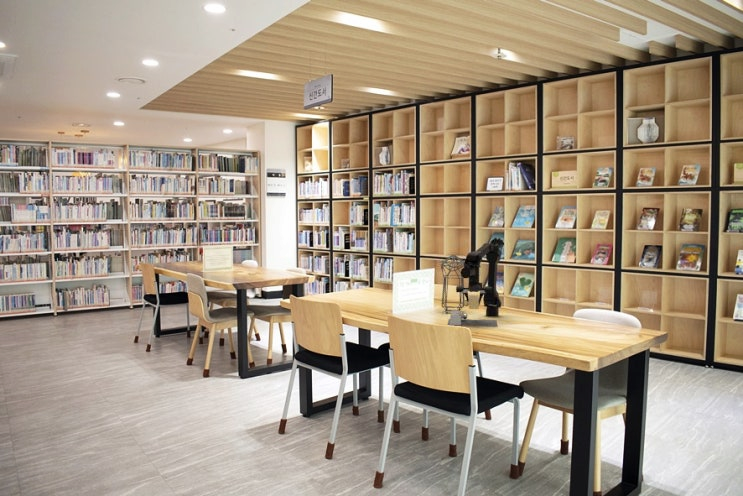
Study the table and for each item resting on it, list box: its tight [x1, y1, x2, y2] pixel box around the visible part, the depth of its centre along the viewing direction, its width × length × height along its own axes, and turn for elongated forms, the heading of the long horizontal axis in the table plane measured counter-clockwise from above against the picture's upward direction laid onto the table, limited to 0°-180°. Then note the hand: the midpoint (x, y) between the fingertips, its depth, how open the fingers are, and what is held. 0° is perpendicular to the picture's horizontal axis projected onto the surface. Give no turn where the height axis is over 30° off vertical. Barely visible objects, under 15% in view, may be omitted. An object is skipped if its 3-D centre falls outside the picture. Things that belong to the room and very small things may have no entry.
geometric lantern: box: [440, 254, 466, 314], centre depth 348 cm, size 16×16×35 cm
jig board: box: [447, 318, 499, 328], centre depth 313 cm, size 18×26×1 cm
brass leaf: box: [464, 294, 480, 310], centre depth 313 cm, size 16×8×5 cm, turn 170°
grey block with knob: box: [449, 309, 468, 327], centre depth 314 cm, size 16×9×5 cm, turn 170°
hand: (473, 305), depth 313 cm, fingers closed on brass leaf, 5 cm apart
